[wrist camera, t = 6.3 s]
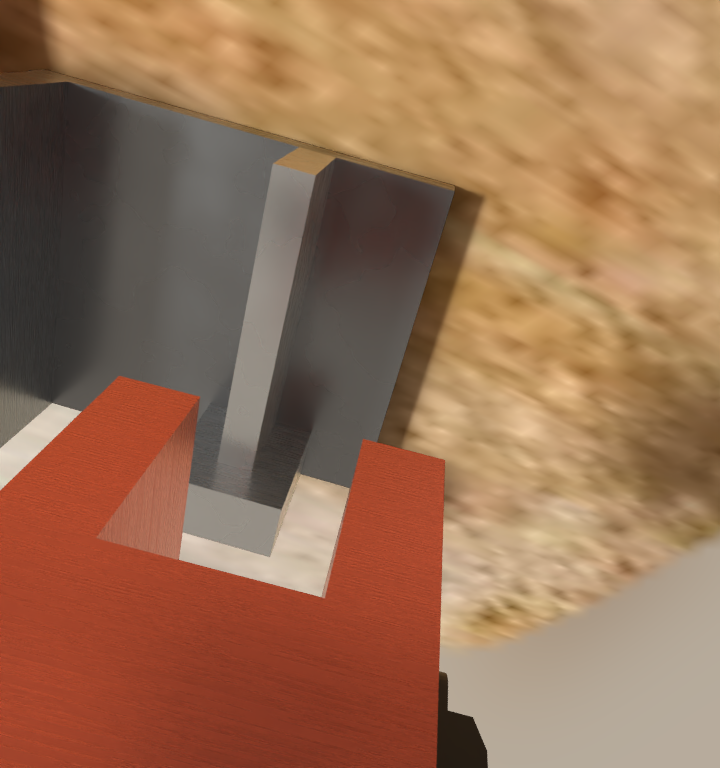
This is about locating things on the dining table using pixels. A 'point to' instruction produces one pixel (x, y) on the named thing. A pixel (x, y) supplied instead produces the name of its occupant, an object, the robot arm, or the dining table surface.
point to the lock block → (208, 612)
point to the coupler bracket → (207, 285)
